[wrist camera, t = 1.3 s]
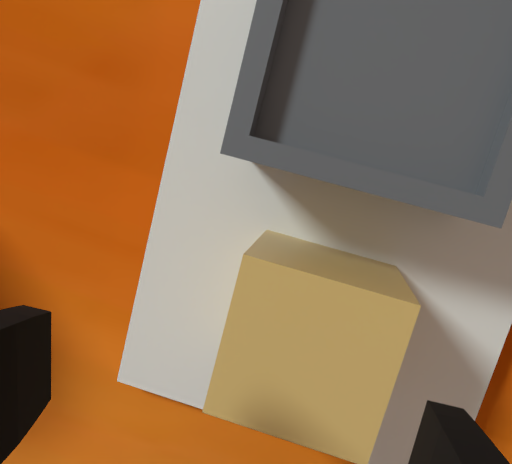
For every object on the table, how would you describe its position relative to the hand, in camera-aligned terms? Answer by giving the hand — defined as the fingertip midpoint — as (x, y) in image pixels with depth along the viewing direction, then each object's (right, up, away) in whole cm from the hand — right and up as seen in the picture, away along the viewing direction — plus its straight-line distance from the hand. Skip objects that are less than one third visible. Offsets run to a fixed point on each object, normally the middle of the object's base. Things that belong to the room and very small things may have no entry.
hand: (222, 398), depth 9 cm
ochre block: (+3, 0, +9) cm, 10 cm away
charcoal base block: (+5, +9, +9) cm, 14 cm away
